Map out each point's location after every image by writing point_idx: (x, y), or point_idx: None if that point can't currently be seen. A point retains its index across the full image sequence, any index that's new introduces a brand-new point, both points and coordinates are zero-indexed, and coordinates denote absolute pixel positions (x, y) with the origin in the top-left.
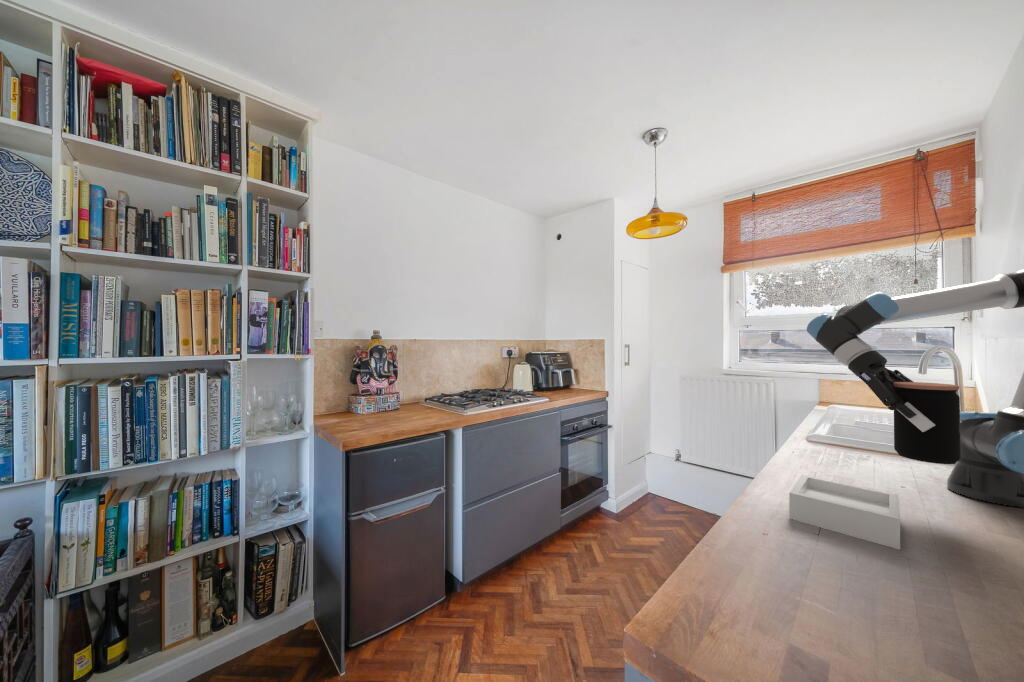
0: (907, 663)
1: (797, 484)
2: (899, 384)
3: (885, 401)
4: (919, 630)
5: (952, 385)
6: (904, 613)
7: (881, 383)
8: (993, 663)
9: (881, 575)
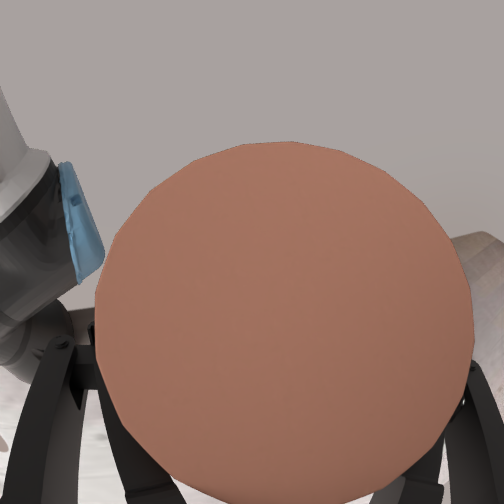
0: None
1: (444, 451)
2: (459, 392)
3: (460, 403)
4: (497, 262)
5: (270, 160)
6: (494, 273)
7: (497, 451)
8: (486, 236)
9: (475, 304)
